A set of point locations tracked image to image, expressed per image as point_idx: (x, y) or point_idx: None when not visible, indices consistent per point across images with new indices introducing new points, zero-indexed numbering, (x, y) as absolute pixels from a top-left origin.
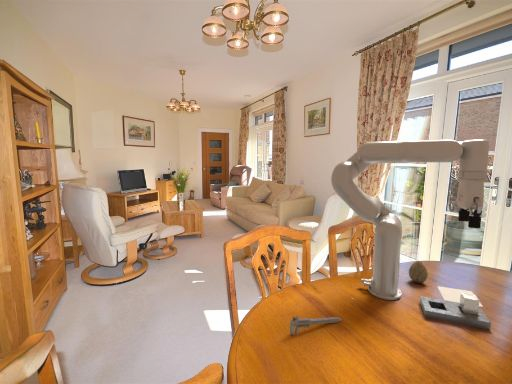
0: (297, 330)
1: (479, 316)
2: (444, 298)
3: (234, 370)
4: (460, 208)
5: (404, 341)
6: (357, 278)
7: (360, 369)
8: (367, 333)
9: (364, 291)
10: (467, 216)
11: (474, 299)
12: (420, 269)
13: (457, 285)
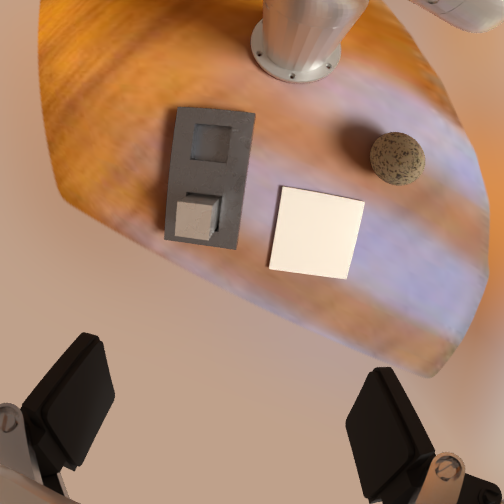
0: None
1: None
2: (292, 190)
3: None
4: (423, 484)
5: (100, 65)
6: None
7: (49, 25)
8: (113, 13)
9: None
10: (360, 449)
11: (176, 225)
12: (388, 156)
13: (380, 261)
